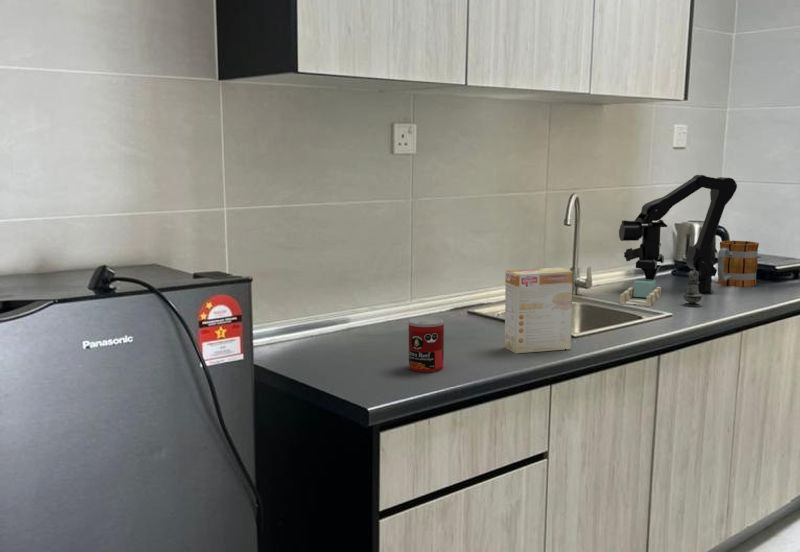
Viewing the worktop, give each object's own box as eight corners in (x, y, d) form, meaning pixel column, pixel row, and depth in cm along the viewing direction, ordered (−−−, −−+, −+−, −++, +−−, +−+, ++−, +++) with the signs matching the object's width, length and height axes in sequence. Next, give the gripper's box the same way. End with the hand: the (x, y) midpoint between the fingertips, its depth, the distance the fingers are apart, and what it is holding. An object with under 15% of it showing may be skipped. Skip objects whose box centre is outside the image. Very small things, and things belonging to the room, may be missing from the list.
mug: (728, 279, 292) (731, 239, 290) (764, 284, 282) (767, 242, 280) (700, 285, 280) (702, 243, 278) (736, 290, 270) (739, 247, 267)
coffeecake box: (558, 343, 199) (560, 266, 196) (571, 349, 192) (574, 270, 189) (503, 347, 195) (504, 269, 192) (514, 354, 188) (516, 273, 185)
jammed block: (636, 293, 263) (637, 278, 263) (655, 294, 261) (655, 280, 260) (633, 296, 258) (633, 281, 257) (652, 297, 255) (652, 282, 255)
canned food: (402, 369, 175) (401, 321, 174) (421, 361, 182) (421, 315, 180) (431, 375, 171) (431, 325, 169) (449, 366, 178) (450, 319, 176)
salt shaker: (699, 303, 247) (701, 266, 245) (704, 307, 241) (706, 269, 240) (680, 303, 248) (681, 266, 246) (684, 307, 242) (686, 268, 240)
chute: (632, 293, 265) (632, 285, 264) (660, 296, 261) (661, 287, 260) (619, 304, 247) (620, 294, 247) (650, 306, 243) (650, 297, 243)
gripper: (632, 236, 275) (630, 280, 278) (620, 242, 259) (619, 289, 261) (665, 238, 270) (663, 282, 273) (655, 243, 254) (653, 291, 256)
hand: (649, 286), depth 266 cm, fingers closed
